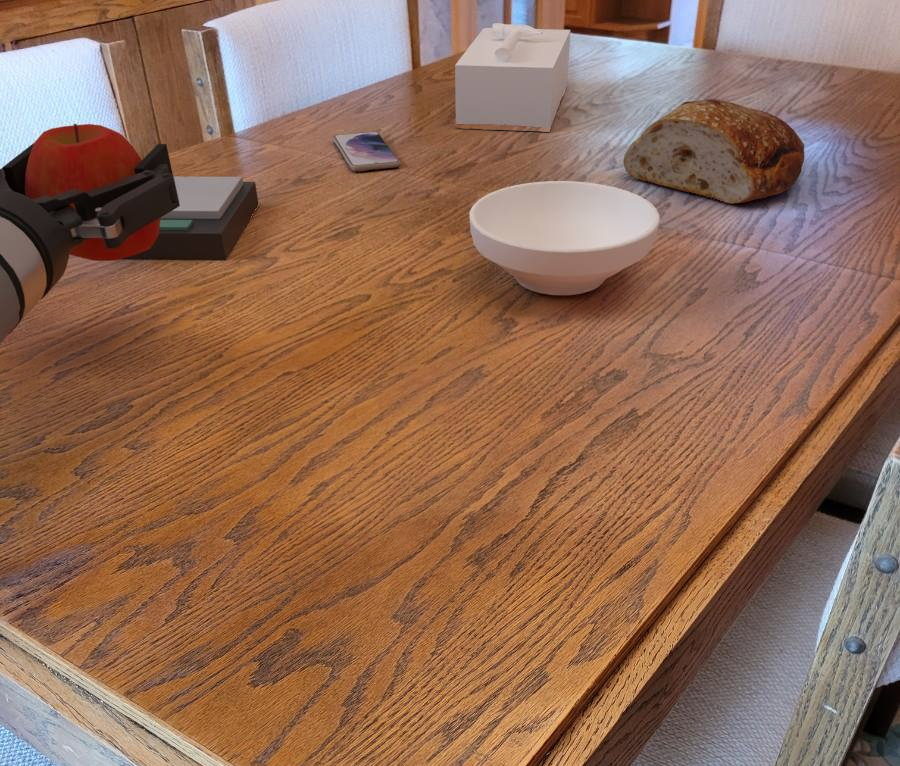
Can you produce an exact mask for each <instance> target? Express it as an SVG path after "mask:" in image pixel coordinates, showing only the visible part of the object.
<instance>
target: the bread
mask: <svg viewBox="0 0 900 766" xmlns="http://www.w3.org/2000/svg"><path fill="white" fill-rule="evenodd" d="M804 162H805V144H804V142H803V141H802V139H801V137H800V136H799V135H798V133H797V132H796V131H795V130H794V128H792V126H790V125H789V124H788V123H787V122H786V121H784V120H783V119H781V118H779V117H778V116H776V115H774V114H771V113H770V112H767V111H763V110H760V109H755V108H751V107H747V106H744V105H741V104H738V103H736V102H735V103H734V102H730V101H726V100H723V99H717V98H708V99H699V100H691V101H684V102H682V103H681V104H680V105H678V106H677V107H676V108H674V109H673V110H671V111H670V112H668V113H666V114H665V115H664V116H662V117H661V118H659V119H658V120H656V121H654V122H652V123H651V124H650V125H649V126H647V127H646V128H645V129H644V130H643V131H642V132H641V134H640V136H639V137H638V138H637V139H636V140H635V141H633V142H632V143H631V144H630V145H629V146H628V148H627V149H626V151H625V154H624V156H623V167H624V169H625V172H626V174H627V175H628V176H629V177H631V178H634V179H637V180H639V179H640V180H639V181H643V182H646V181H648V182H647V183H650V182H651V183H650V184H654V183H655V184H654V185H658V186H663V187H666V188H667V187H668V188H671V189H675V190H679V191H683V192H687V193H690V192H691V193H690V194H694V193H695V194H694V195H698V194H699V195H698V196H702V195H703V196H702V197H705V196H706V198H709V197H710V198H709V199H712V198H714V199H713V200H715V199H717V200H716V201H718V200H720V201H719V202H721V201H723V202H722V203H726V204H741V203H748V202H751V201H755V200H760V199H764V198H768V197H771V196H775V195H779V194H782V193H783V192H784V193H785V191H787V190H789V189H790V188H792V187H793V186H794V185H795V184H796V183H797V181H798V179H799V177H800V175H801V173H802V170H803V165H804Z"/></svg>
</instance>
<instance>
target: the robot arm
mask: <svg viewBox="0 0 900 766" xmlns="http://www.w3.org/2000/svg"><path fill="white" fill-rule="evenodd" d="M33 145H34V142H33V143H32V144H30V145H29V146H27V148H25V149H24V150H22V151H21V152H20V153H19V154H18V155H16V156H15V157H14V158H13V159H11V160H10V161H9V162H7V163H6V164H5V165H4V166H2V167H0V345H1V344H2V343H3V341H4V340H5V339H6V338H7V337H8V336H9V335H11V334H12V333H13V332H14V330H15V329H16V328H17V327H18V326H19V324H20V323H21V322H22V321H23V319H24V318H25V317H26V316H27V315H28V314H29V313H30V312H31V311H32V310H33V309H34V308H35V306H37V305H38V303H39V302H40V301H41V300H42V299H44V298H45V297H46V295H48V293H50V291H51V290H52V289H53V288H54V287H55V286H56V285H57V284H58V282H59V281H60V280H61V279H62V278H63V276H64V274H65V272H66V270H67V267H68V263H69V259H70V256H71V255H70V251H71V250H72V249H73V248H75V247H77V246H80V245H82V244H83V243H84V242H85V241H86V240H87V239H90V238H103V240H104V243H105V247H106V248H110V249H111V248H117V247H120V246H121V245H122V244H123V242H124V241H125V240H126V238H127V237H128V236H130V235H132V234H134V233H135V232H137V231H139V230H140V229H142V228H144V227H145V226H147V225H149V224H150V223H152V222H154V221H156V220H157V219H159V218H161V217H162V216H164V215H166V214H167V213H169V212H171V211H172V210H174V209H176V208H178V207H179V206H180V204H179V199H178V194H177V189H176V185H175V180H174V176H175V175H174V173H173V168H172V163H171V159H170V154H169V150H168V146H167V143H157V144H156V145H155V146H154V147H153V148H152V149H151V150H150V151H149V152H148V153H147V154H146V156H145V157H143V159H141V160H142V161H141V162H140V163H139V164H138V165H137V166H136V167H135V168H134V170H135V175H132V176H129V177H127V178H124V179H121V180H118V181H115V182H113V183H110V184H107V185H104V186H102V187H99V188H96V189H93V190H90V191H88V192H83V191H79V190H76V189H73V190H70V191H67V192H64V193H61V194H58V195H56V196H53V197H50V196H42V197H39V198H36V199H30V198H28V197H26V195H25V173H26V169H27V164H28V159H29V156H30V153H31V151H32V148H33ZM72 203H74V205H75V209H76V211H75V210H74V209H73V208H72V206H71V205H70V204H72Z"/></svg>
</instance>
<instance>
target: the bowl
mask: <svg viewBox="0 0 900 766" xmlns="http://www.w3.org/2000/svg"><path fill="white" fill-rule="evenodd" d="M468 214H469V215H468V216H469V228H470V229H469V230H470V235H471V238H472V242H473V246H474V247H475V249H476V250H477V252H479V253H480V255H481V256H483V257H484V258H486V259H488V260H489V261H491V262H492V263H495V264H496V265H497V266H499V267H500V268H501V269H502V270H504V271H505V272H507V273H508V274H510V275H511V276H513V277H514V279H515V280H516V282H517V283H518V284H519V285H520V286H521V287H523V288H525V289H526V290H530V291H532V292H534V293H539V294H543V295H550V296H573V295H581V294H586V293H589V292H591V291H593V290H595V289H597V288H599V287H600V286H602V284H604V282H605V281H606V280H608V278H611V277H612V276H613V275H616V274H618V273H619V272H621V271H622V270H624V269H626V268H628V267H630V266H632V265H634V264H636V263H638V262H641V260H643V259H644V258H645V257H646V256H647V255H649V253H650V251H651V250H652V248H653V246H654V243H655V241H656V239H657V236H658V232H659V227H660V221H661V220H660V218H661V215H660V213H659V211H658V209H657V208H656V206H655V205H653V204H652V203H651V202H650V201H649V200H648V199H646V198H644V197H642V196H641V195H639V194H636V193H634V192H631V191H629V190H627V189H623V188H619V187H615V186H612V185H607V184H601V183H594V182H585V181H575V180H574V181H571V180H549V181H547V180H546V181H535V182H527V183H522V184H521V183H520V184H514V185H511V186H507V187H503V188H500V189H497V190H494V191H492V192H489V193H488V194H486V195H484V196H483V197H480V198H479V199H478V200H477V201H476V202H475V203H474V204H473V205H472V206H471V209H470V210H469V212H468Z"/></svg>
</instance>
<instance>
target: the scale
mask: <svg viewBox="0 0 900 766" xmlns="http://www.w3.org/2000/svg"><path fill="white" fill-rule="evenodd" d="M174 180H175V185H176V189H177V194H178V199H179V204H180V206H179V207H178V208H176V209H174V210H172V211H171V212H169V213H167V214H166V215H164V216H162V217H161V220H160V229H159V235H158V237H157V239H156V240H155V242H154V243H153V245H152V247H151V248H150V249H148V250H146V251H143V252H141V253H138V254H136V255H132V256H129V257H125V258H122V259H124V260H198V259H215V260H214V261H226V260H227V258H228V257H229V255H230V254H231V252H232V250H233V249H234V247H235V246H236V244H237V242H238V241H239V239H240V238H239V237H241V236H242V234H243V233H244V231H245V229H246V228H247V226H248V225H247V223H248V221H249V220H250V218H251V216H252V214H253V213H254V211H255V209H256V208H257V206H258V204H259V197H258V192H257V191H258V190H257V185H256V181H244V180H243V177H242V176H177V175H174ZM259 205H260V204H259ZM257 209H258V208H257ZM254 214H255V213H254ZM252 217H253V216H252ZM251 219H252V218H251ZM250 221H251V220H250ZM250 221H249V222H250ZM248 224H249V223H248ZM246 225H247V226H246ZM245 227H246V228H245ZM244 228H245V229H244ZM243 230H244V231H243ZM242 232H243V233H242ZM241 233H242V234H241ZM240 235H241V236H240ZM237 240H238V241H237ZM126 258H127V259H126ZM122 259H121V260H122ZM217 259H218V260H217ZM220 259H221V260H220Z"/></svg>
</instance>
